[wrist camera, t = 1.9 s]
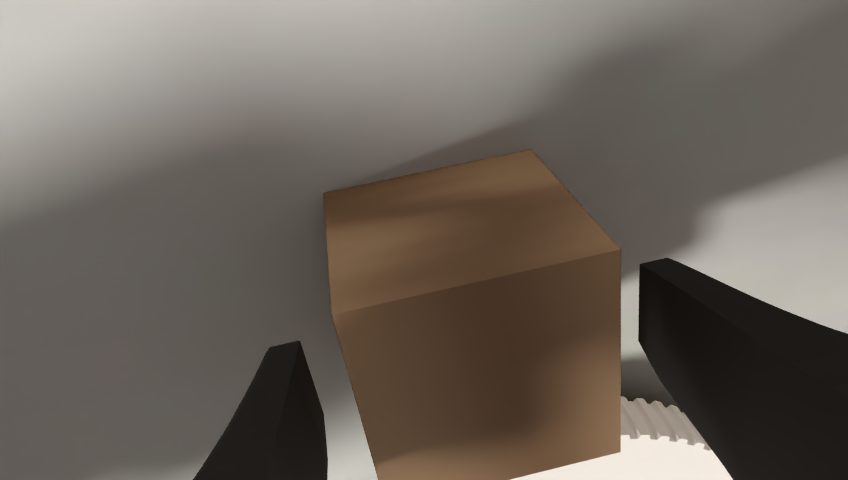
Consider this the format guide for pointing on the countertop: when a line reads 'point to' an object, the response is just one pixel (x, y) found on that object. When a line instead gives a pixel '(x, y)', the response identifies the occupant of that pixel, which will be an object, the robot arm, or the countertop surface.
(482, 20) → the countertop surface
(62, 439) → the countertop surface
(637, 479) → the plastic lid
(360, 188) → the walnut cube
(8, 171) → the countertop surface
